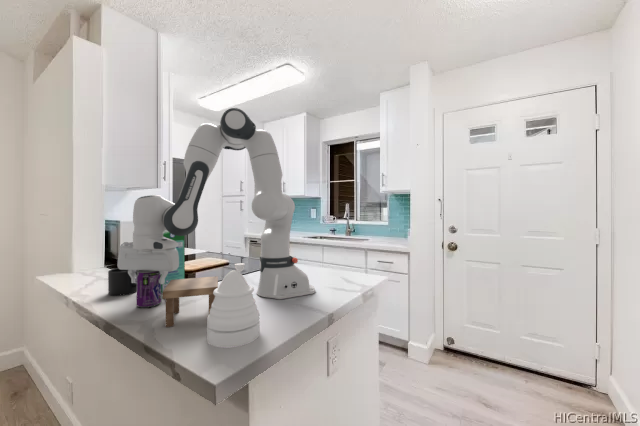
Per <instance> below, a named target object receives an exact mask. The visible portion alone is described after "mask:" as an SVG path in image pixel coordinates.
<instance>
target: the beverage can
mask: <svg viewBox="0 0 640 426" xmlns="http://www.w3.org/2000/svg"><path fill="white" fill-rule="evenodd" d="M160 277H161V274H160V271H144V270H138V275H137V291H136V306H137V307H140V308H144V309H146V308H152V307H156V306H157V305H159V304H160V303H161V302H162V293H161V284H158V279H160Z"/></svg>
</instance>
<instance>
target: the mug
mask: <svg viewBox="0 0 640 426" xmlns="http://www.w3.org/2000/svg"><path fill="white" fill-rule="evenodd" d="M138 271H139V270H136V272H135V273H136V276H137V275H138V273H139V272H138ZM107 273H108V274H107V275H108V276H107V277H108V279H107V280H108V282H107V283H108V284H107V287H108V288H107V290H108V292H107V293H108V296H112V297H115V296H116V297H119V296H120V297H121V296H127V295H131V294H134V293H137V283H131V277H130V276H129V274H128V270H120V269H119V268H118V267H117V268H113V269H110V270H108V271H107Z"/></svg>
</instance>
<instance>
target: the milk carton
mask: <svg viewBox="0 0 640 426" xmlns="http://www.w3.org/2000/svg"><path fill="white" fill-rule="evenodd" d="M163 237H166V238H168V239H171V240H174V241H176V242H177V247H175V249H177V251H178V255H179V267H178V268H177V270H174V271H171V272H169V271H168V274H167V276H166V278H165V283H164V284H161V294H163V290H164V289H165V288H166V286H167V285H168V283H169V282H170V281H171V280H176V279H186V275H185V274H186V273H185V271H186V269H185V268H186V267H185V265H186V263H185V260H186V259H185V258H186V257H185V256H186V255H185V253H186V251H185V244H186V243H185V242H186V240H185V237H186V235H184V236H176V235H173V234H171V233H170V232H168V231H167V230H165V231H164V232H163ZM161 275H162V274H161Z"/></svg>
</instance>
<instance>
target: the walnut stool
mask: <svg viewBox="0 0 640 426" xmlns="http://www.w3.org/2000/svg"><path fill="white" fill-rule="evenodd" d="M218 287H219V276H204V277H203V276H202V277H190V278H185V279H176V280H171V281H170V282H169V283H168V285H167V286H166V288H165V289H164V290H163V293H162V300H165V328H170V327H174V325H175V314H179V313H180V298H188V297H197V296H198V297H200V296H208V315H209V314H210V309H211V308H212V307H211V305H212V303H213V301H214V298H215V295H214V294H213V291H214V290H215V289H216V288H218Z"/></svg>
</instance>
